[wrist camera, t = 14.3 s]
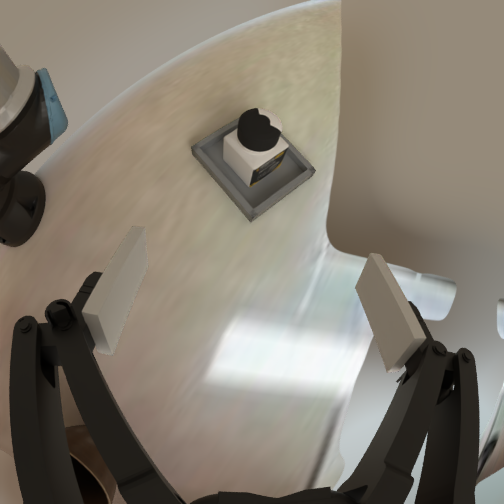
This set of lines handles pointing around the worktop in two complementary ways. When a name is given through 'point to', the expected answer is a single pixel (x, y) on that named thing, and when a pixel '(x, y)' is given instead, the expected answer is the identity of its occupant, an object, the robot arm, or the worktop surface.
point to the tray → (264, 191)
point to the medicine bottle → (255, 145)
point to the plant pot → (89, 467)
